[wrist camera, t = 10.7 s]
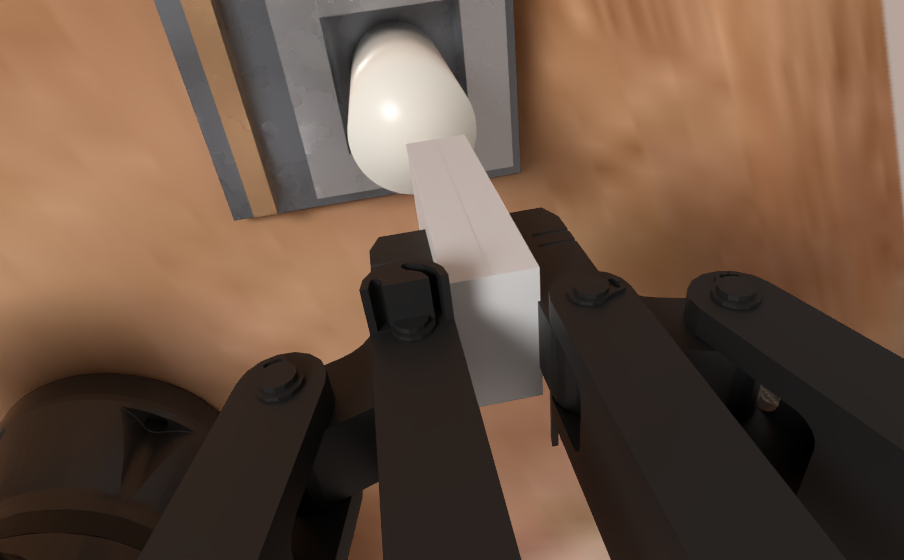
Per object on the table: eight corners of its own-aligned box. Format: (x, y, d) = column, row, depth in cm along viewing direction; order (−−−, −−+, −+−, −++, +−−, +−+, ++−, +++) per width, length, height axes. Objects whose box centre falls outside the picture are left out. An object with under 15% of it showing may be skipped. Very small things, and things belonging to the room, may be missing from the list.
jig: (237, 212, 31) (225, 242, 28) (139, -59, 24) (110, -58, 21) (516, 166, 32) (533, 190, 29) (503, -106, 25) (523, -111, 22)
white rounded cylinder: (361, 121, 28) (362, 203, 20) (342, 28, 26) (333, 78, 17) (446, 107, 28) (482, 183, 20) (435, 14, 26) (470, 56, 18)
